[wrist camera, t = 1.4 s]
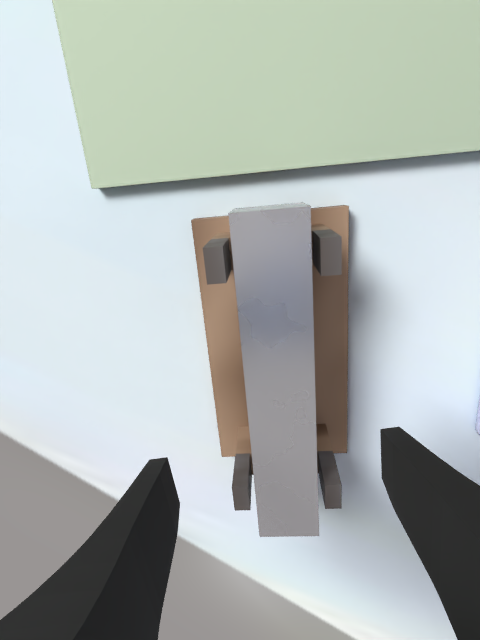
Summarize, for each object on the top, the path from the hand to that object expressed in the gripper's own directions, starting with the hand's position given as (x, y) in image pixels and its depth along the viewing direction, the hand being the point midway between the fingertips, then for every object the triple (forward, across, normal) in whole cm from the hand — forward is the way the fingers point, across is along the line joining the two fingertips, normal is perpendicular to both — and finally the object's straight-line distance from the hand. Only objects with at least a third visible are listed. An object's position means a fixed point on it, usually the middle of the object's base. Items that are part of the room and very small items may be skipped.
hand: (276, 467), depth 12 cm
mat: (+11, -3, -14) cm, 18 cm away
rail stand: (+10, -1, 0) cm, 11 cm away
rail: (+7, -1, 0) cm, 7 cm away
